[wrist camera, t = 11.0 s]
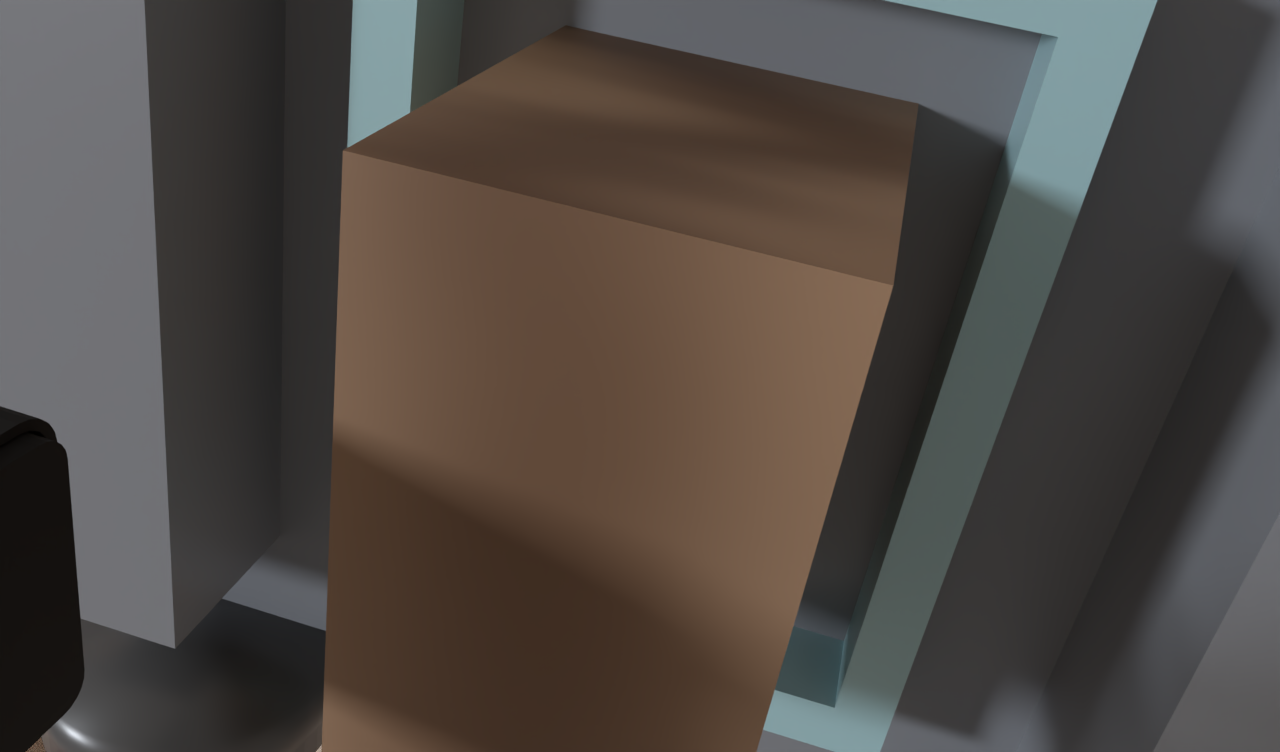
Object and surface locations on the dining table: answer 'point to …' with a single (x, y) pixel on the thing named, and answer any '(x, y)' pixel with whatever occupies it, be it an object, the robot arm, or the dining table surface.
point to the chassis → (887, 411)
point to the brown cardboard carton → (596, 395)
